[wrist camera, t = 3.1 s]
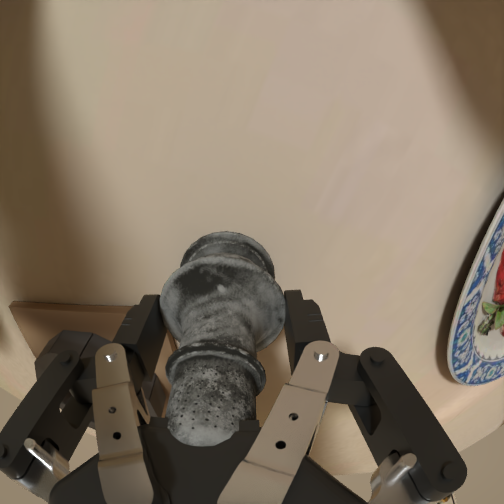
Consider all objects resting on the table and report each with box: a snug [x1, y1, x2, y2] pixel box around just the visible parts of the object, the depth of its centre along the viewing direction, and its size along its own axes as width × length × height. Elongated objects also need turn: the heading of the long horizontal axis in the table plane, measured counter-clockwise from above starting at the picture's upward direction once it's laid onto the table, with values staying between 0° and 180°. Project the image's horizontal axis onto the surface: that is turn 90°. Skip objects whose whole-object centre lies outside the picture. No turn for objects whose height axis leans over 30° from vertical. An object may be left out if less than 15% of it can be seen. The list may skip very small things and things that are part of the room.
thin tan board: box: [9, 301, 176, 429], centre depth 19 cm, size 14×14×3 cm
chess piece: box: [160, 231, 285, 446], centre depth 11 cm, size 6×6×12 cm
